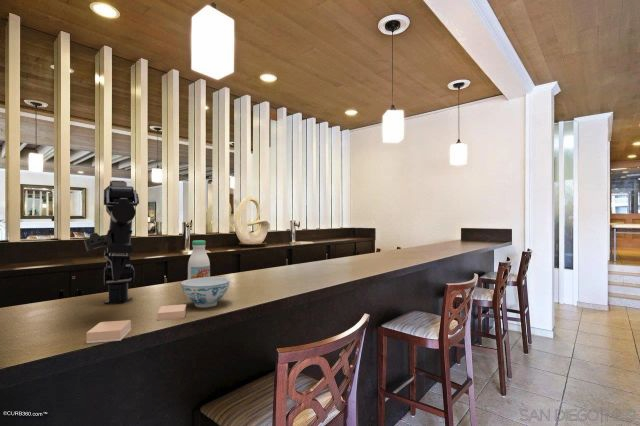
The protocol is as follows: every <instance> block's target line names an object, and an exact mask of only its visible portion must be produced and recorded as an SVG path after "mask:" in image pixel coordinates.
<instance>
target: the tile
mask: <svg viewBox="0 0 640 426" xmlns="http://www.w3.org/2000/svg"><path fill="white" fill-rule="evenodd" d="M131 330H132V320H130V319H127V320H115V321H114V320H112V321H100V322H99V323H97V324H96V325H95V326H94V327H92V328H91V329H89V330H88V331H87V332H86V342H85V343H86V344H95V343H96V344H97V343H104V342H105V343H107V342H118V341H120V342H121V341H122V340H123V339H124V338H125V337H126V336H127V334H129V332H130V331H131Z"/></svg>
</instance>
